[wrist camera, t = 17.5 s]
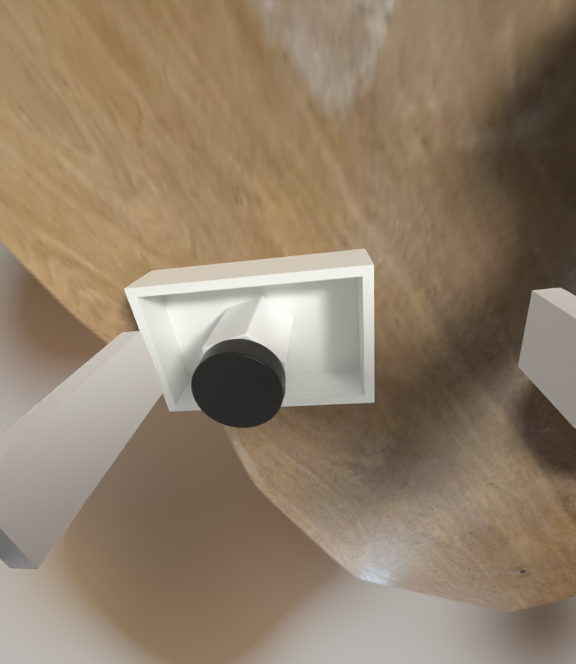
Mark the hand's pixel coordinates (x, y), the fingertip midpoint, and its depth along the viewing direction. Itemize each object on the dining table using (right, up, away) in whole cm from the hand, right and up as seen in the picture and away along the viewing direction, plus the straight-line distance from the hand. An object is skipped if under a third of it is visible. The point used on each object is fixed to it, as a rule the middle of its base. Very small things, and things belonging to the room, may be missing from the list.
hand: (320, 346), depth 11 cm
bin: (-4, +2, +28) cm, 28 cm away
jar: (-5, +1, +27) cm, 28 cm away
